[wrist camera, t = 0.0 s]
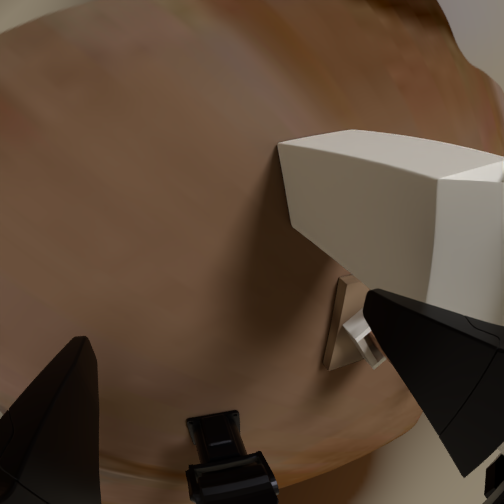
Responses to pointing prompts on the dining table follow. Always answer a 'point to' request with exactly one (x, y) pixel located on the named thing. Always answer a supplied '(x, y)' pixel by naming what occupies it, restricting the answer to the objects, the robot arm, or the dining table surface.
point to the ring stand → (350, 328)
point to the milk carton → (404, 215)
